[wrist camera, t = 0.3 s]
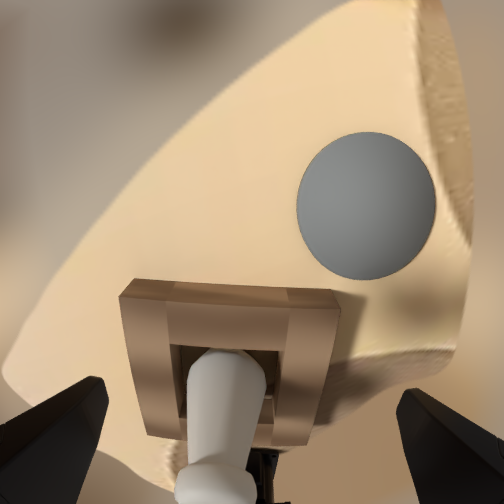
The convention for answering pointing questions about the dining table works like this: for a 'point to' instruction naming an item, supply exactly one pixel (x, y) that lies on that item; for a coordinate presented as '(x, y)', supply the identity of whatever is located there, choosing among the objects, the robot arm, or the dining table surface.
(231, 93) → the dining table surface
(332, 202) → the slate coaster
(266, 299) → the walnut frame
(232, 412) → the salt shaker
